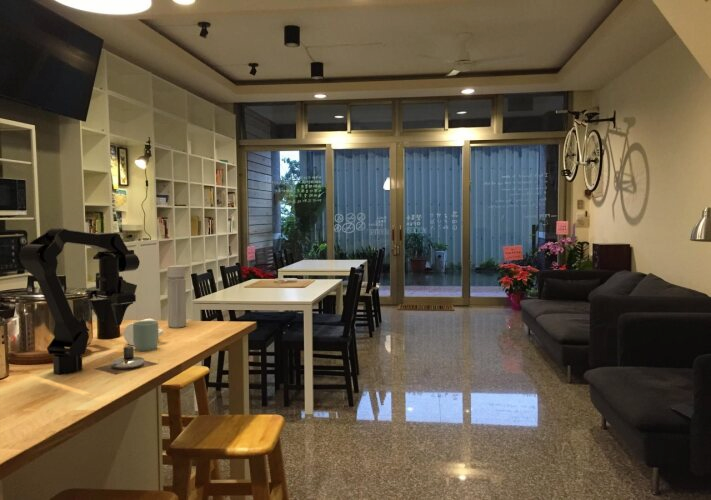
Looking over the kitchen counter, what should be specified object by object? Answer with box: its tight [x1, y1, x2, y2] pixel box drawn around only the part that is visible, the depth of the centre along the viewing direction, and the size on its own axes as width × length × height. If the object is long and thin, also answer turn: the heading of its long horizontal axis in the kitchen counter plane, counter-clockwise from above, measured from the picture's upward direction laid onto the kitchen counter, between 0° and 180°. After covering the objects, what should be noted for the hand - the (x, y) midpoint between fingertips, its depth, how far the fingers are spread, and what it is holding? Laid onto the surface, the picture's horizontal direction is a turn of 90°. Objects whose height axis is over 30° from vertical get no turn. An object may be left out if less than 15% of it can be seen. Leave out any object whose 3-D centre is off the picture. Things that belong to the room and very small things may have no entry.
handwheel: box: [110, 345, 145, 369], centre depth 164 cm, size 9×9×4 cm
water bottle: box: [165, 265, 187, 329], centre depth 230 cm, size 9×8×25 cm
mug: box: [123, 318, 164, 347], centre depth 201 cm, size 12×10×8 cm
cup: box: [132, 320, 159, 352], centre depth 187 cm, size 8×8×10 cm
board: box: [93, 359, 159, 375], centre depth 165 cm, size 14×11×1 cm
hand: (110, 323), depth 174 cm, fingers open, 9 cm apart
